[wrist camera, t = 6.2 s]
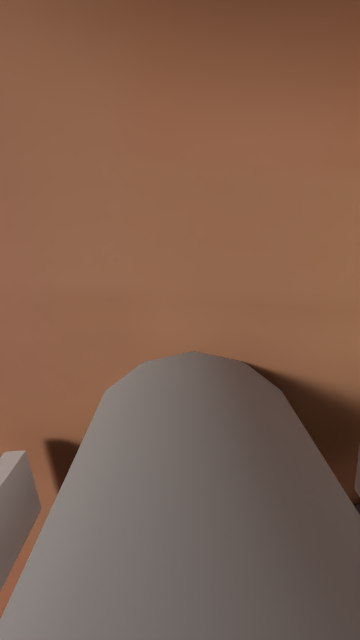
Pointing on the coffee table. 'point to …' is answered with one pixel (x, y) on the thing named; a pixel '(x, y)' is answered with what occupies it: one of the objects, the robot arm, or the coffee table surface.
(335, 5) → the coffee table surface
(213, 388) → the cup
